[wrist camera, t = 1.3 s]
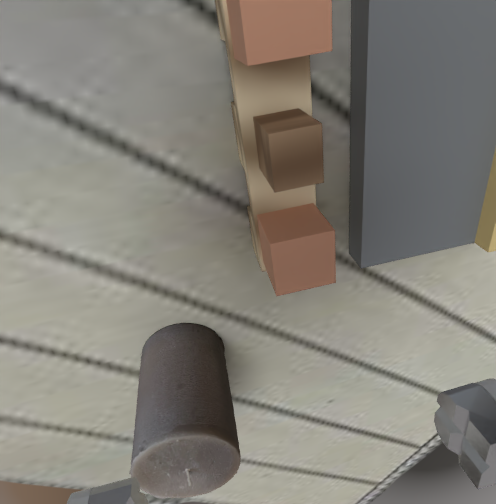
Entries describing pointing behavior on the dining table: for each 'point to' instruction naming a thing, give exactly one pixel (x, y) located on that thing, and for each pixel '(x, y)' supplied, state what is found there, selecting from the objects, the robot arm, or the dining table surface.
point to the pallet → (260, 100)
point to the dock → (422, 127)
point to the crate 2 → (297, 248)
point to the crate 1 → (279, 29)
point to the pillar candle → (184, 415)
